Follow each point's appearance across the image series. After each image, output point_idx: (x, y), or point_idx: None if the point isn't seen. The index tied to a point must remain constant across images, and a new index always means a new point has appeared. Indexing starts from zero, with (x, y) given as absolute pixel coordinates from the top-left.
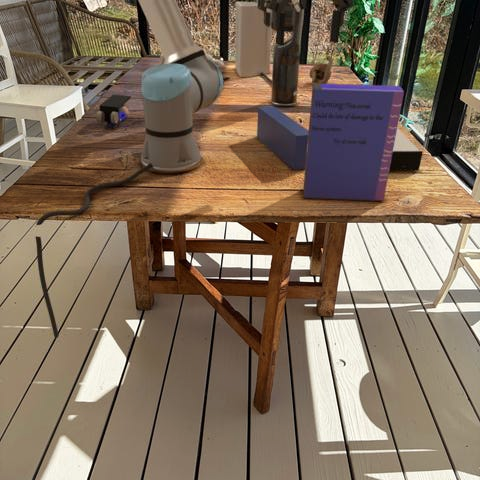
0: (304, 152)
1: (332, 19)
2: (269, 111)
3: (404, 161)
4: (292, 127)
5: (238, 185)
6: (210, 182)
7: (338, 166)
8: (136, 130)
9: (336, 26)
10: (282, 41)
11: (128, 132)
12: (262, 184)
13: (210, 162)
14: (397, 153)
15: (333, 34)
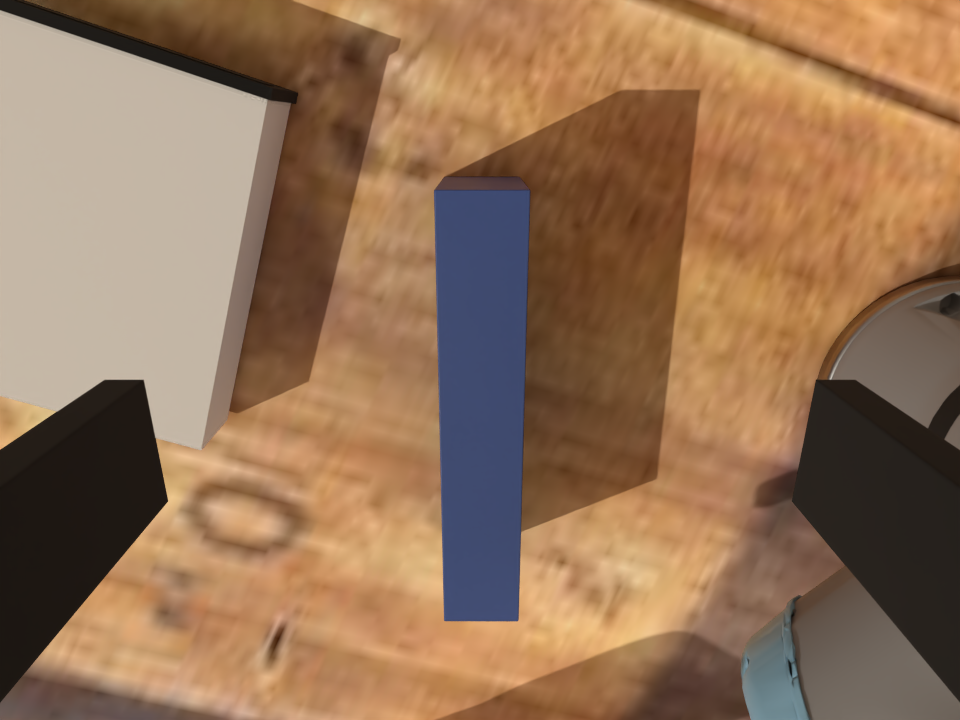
0: (477, 182)
1: (4, 676)
2: (494, 553)
3: (37, 5)
4: (491, 315)
5: (794, 98)
6: (879, 161)
7: None
8: None
9: (26, 486)
10: (858, 395)
11: None
12: (703, 77)
13: (789, 347)
14: (53, 13)
15: (109, 483)
